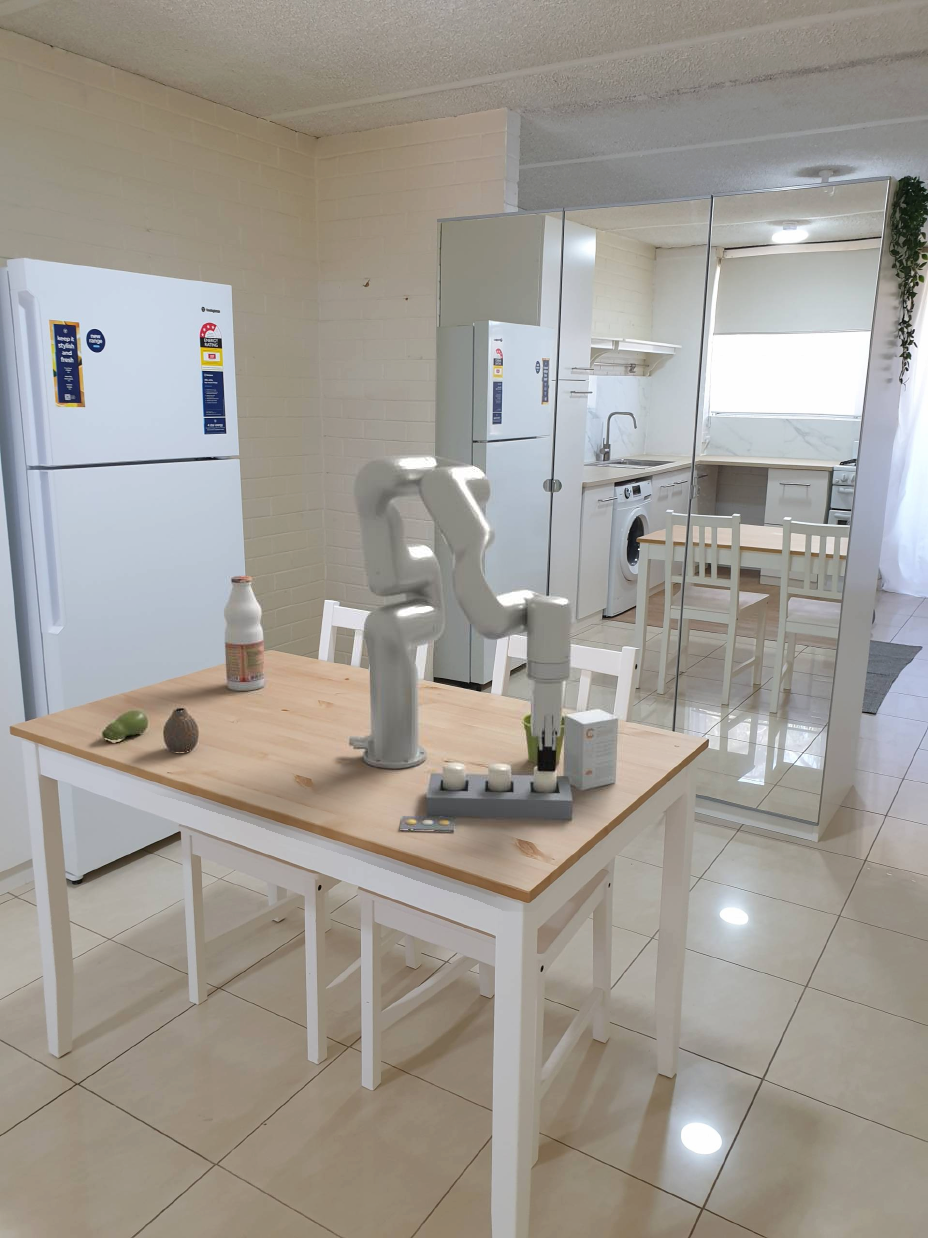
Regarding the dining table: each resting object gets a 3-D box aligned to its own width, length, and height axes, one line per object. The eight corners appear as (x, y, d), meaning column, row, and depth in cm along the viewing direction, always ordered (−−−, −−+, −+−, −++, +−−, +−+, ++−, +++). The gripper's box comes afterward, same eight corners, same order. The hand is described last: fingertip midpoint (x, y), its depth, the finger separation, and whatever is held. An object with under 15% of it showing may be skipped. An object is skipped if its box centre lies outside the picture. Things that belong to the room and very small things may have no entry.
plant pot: (575, 758, 190) (576, 717, 188) (555, 773, 182) (556, 730, 180) (533, 750, 194) (534, 709, 192) (512, 764, 186) (513, 722, 185)
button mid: (487, 791, 164) (488, 771, 164) (488, 782, 168) (488, 763, 167) (510, 791, 164) (511, 772, 163) (510, 782, 168) (510, 764, 167)
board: (426, 816, 162) (426, 797, 161) (431, 791, 173) (431, 773, 172) (572, 819, 161) (572, 800, 160) (567, 794, 172) (568, 776, 171)
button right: (533, 793, 164) (534, 773, 163) (533, 784, 168) (533, 765, 167) (556, 793, 164) (557, 774, 163) (555, 784, 168) (556, 765, 167)
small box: (596, 772, 183) (598, 708, 180) (616, 783, 177) (619, 717, 174) (561, 779, 179) (563, 714, 176) (581, 791, 173) (583, 723, 171)
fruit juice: (223, 691, 233) (217, 580, 227) (231, 681, 242) (226, 573, 236) (261, 691, 233) (256, 580, 227) (268, 681, 242) (264, 573, 236)
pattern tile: (399, 831, 156) (399, 828, 156) (402, 818, 161) (402, 815, 161) (453, 832, 156) (453, 829, 156) (455, 819, 161) (455, 816, 161)
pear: (150, 709, 201) (110, 729, 193) (155, 731, 203) (116, 751, 195) (134, 704, 204) (94, 723, 197) (139, 726, 206) (99, 746, 198)
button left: (442, 790, 165) (442, 770, 164) (443, 781, 168) (443, 762, 168) (465, 790, 164) (465, 771, 164) (465, 782, 168) (466, 763, 168)
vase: (184, 742, 197) (182, 702, 195) (206, 749, 193) (204, 708, 192) (157, 751, 192) (154, 710, 190) (179, 758, 188) (176, 717, 186)
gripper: (525, 657, 169) (523, 754, 172) (527, 680, 154) (526, 785, 158) (567, 658, 168) (564, 755, 172) (573, 680, 154) (570, 786, 158)
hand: (546, 769), depth 165 cm, fingers closed
